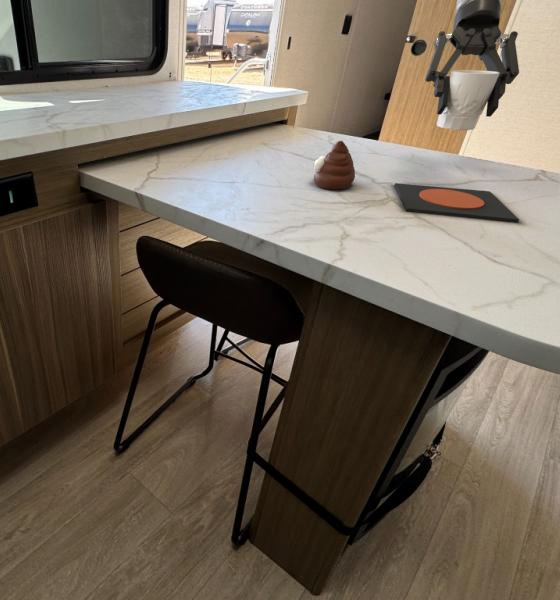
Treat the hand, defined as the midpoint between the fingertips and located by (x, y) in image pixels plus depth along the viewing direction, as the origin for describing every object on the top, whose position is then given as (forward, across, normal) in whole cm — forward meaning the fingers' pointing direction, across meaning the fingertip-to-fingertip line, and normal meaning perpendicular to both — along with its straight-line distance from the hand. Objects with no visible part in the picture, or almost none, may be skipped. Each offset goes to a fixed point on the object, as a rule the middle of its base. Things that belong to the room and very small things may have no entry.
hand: (466, 110), depth 80 cm
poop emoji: (+13, +21, -9) cm, 27 cm away
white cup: (0, 0, -5) cm, 5 cm away
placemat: (+17, -1, -5) cm, 17 cm away
